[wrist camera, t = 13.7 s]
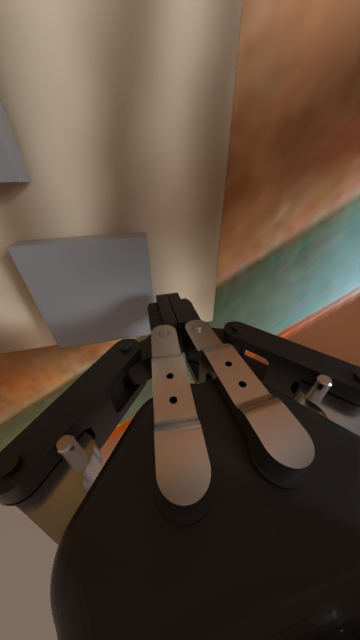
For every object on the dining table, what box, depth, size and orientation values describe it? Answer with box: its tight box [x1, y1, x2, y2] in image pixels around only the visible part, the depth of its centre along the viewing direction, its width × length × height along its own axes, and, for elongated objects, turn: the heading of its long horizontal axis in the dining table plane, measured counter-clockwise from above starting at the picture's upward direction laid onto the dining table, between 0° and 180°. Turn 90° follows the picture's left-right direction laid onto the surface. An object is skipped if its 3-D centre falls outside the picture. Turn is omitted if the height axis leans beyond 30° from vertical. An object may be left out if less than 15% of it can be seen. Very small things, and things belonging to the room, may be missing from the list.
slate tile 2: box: [7, 232, 154, 349], centre depth 15 cm, size 2×8×8 cm
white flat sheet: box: [0, 0, 243, 354], centre depth 13 cm, size 26×20×2 cm
